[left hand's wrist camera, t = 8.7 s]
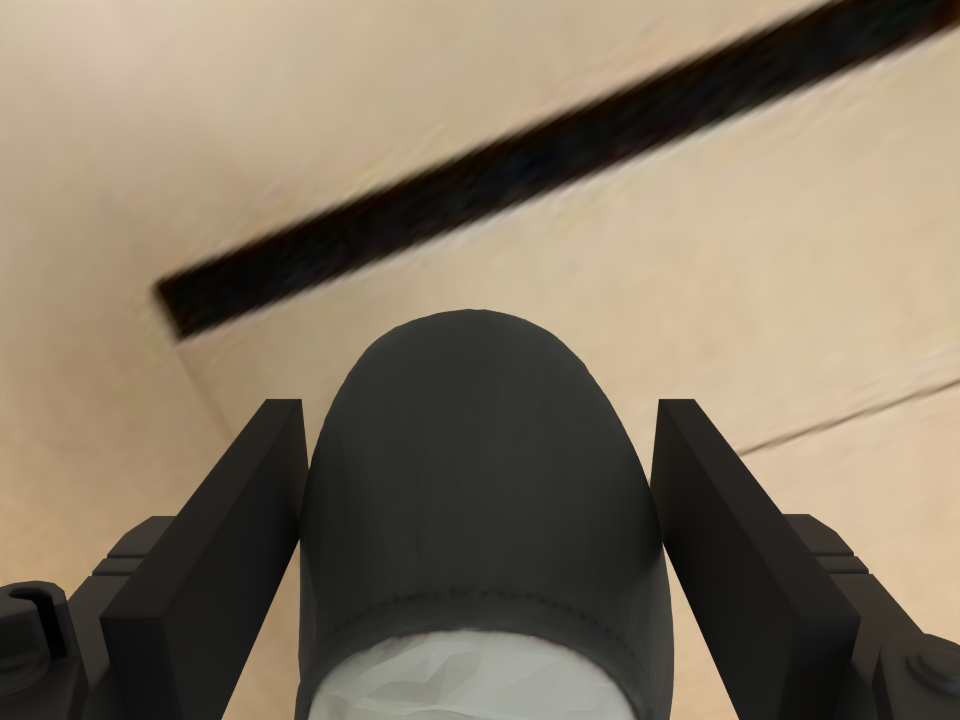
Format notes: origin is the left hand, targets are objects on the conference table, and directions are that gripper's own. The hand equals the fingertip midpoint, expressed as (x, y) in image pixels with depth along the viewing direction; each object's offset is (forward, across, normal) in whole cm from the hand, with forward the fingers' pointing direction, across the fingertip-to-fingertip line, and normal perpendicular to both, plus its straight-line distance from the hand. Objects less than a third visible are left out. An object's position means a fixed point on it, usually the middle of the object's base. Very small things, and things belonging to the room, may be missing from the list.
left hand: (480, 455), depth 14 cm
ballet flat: (+1, 0, -8) cm, 8 cm away
